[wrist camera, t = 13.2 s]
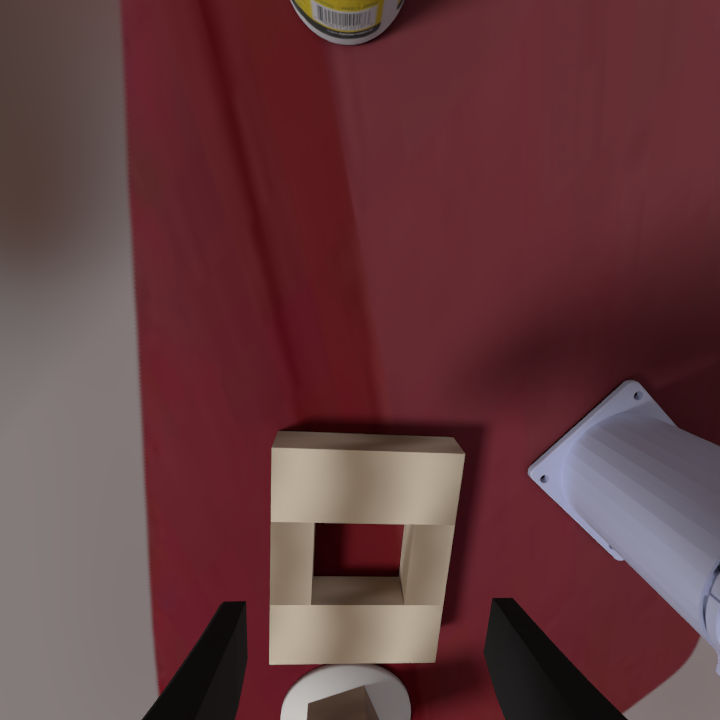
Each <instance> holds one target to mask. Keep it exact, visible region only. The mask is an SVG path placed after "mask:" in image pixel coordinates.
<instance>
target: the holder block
mask: <svg viewBox="0 0 720 720" xmlns="http://www.w3.org/2000/svg"><path fill="white" fill-rule="evenodd" d="M464 459H465V453H464V451H463V450H462V449H461V447H460V446H459V445H458V443H457V442H456V440H455V439H454V438H453V437H434V436H407V435H379V434H351V433H323V432H296V431H278V433H277V436H276V438H275V441H274V443H273V446H272V472H271V559H270V645H269V665H272V664H358V663H435V659H436V652H437V645H438V638H439V631H440V624H441V617H442V611H443V604H444V597H445V590H446V583H447V576H448V569H449V562H450V556H451V549H452V542H453V535H454V528H455V521H456V514H457V507H458V501H459V494H460V487H461V480H462V473H463V466H464ZM316 523H359V524H404V533H403V543H402V552H401V561H400V570H399V577H343V576H313V573H314V550H315V527H316Z"/></svg>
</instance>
